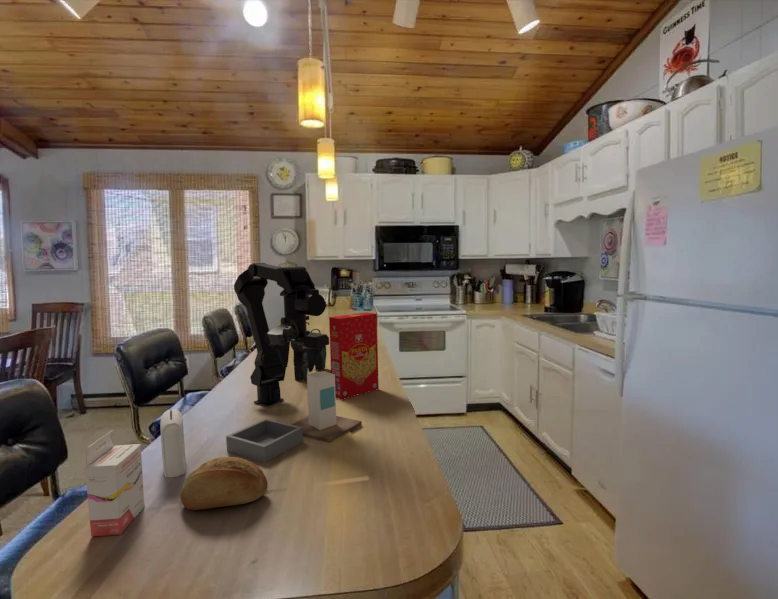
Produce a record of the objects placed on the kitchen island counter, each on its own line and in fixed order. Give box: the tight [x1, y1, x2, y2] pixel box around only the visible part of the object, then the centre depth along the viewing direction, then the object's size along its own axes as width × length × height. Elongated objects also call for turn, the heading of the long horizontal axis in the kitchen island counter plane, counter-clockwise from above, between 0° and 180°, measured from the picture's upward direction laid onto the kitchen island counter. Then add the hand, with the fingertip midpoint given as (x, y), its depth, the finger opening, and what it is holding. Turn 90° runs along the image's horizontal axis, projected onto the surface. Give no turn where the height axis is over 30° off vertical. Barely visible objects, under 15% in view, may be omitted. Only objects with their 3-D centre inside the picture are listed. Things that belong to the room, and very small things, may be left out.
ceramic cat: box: [290, 321, 327, 381], centre depth 165 cm, size 20×6×20 cm, turn 160°
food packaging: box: [328, 311, 380, 400], centre depth 141 cm, size 15×5×25 cm, turn 131°
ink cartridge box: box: [84, 429, 145, 537], centre depth 75 cm, size 9×5×15 cm, turn 5°
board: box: [289, 415, 363, 443], centre depth 113 cm, size 15×13×1 cm
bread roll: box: [180, 456, 268, 511], centre depth 80 cm, size 10×15×8 cm, turn 102°
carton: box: [306, 370, 337, 430], centre depth 112 cm, size 5×5×13 cm
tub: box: [225, 418, 304, 463], centre depth 102 cm, size 12×12×4 cm
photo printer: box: [159, 408, 187, 478], centre depth 93 cm, size 10×4×12 cm, turn 26°
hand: (297, 369), depth 122 cm, fingers open, 9 cm apart
